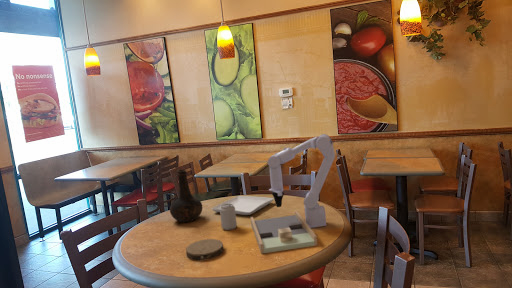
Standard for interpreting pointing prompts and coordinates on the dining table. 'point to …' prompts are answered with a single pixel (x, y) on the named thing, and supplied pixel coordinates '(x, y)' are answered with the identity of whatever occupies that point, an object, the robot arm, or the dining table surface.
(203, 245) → the grey brown round disc
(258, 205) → the square plate
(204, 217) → the dining table surface
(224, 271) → the dining table surface
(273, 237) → the box
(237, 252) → the dining table surface
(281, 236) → the maple block
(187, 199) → the glass bottle
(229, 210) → the can
